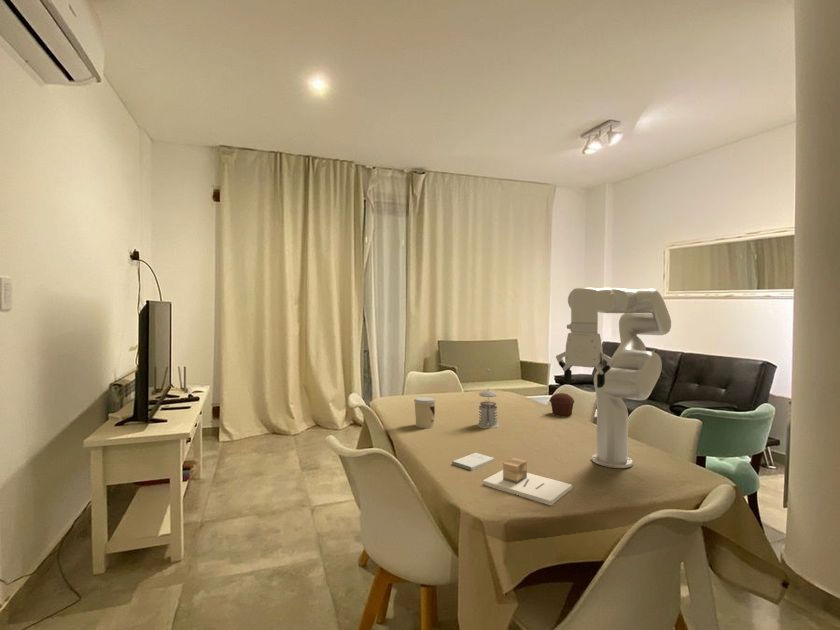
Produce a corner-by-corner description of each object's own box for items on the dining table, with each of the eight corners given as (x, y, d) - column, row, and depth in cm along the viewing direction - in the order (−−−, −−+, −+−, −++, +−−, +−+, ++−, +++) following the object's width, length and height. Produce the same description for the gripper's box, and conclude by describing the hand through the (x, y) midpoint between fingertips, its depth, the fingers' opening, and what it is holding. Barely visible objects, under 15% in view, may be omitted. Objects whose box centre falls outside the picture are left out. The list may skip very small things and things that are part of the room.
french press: (499, 422, 198) (499, 367, 198) (499, 429, 187) (499, 371, 187) (477, 421, 200) (477, 366, 200) (476, 428, 189) (476, 370, 188)
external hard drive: (451, 465, 146) (474, 456, 155) (471, 472, 140) (494, 462, 149) (451, 460, 146) (474, 451, 155) (471, 467, 140) (494, 457, 149)
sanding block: (513, 474, 134) (513, 457, 134) (526, 477, 131) (526, 461, 131) (503, 479, 130) (503, 463, 129) (516, 483, 127) (516, 466, 127)
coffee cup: (435, 428, 189) (435, 400, 189) (413, 428, 189) (413, 400, 189) (435, 423, 198) (435, 396, 198) (414, 423, 198) (414, 396, 198)
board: (507, 471, 140) (507, 467, 140) (572, 488, 126) (572, 484, 126) (483, 484, 129) (482, 480, 129) (551, 505, 116) (551, 500, 116)
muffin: (573, 412, 218) (573, 392, 218) (576, 417, 207) (576, 396, 207) (548, 411, 221) (548, 391, 221) (549, 416, 210) (549, 395, 210)
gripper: (551, 328, 136) (551, 383, 136) (609, 330, 125) (609, 390, 125) (561, 327, 142) (561, 380, 142) (618, 329, 130) (617, 386, 131)
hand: (583, 385), depth 133 cm, fingers open, 9 cm apart
